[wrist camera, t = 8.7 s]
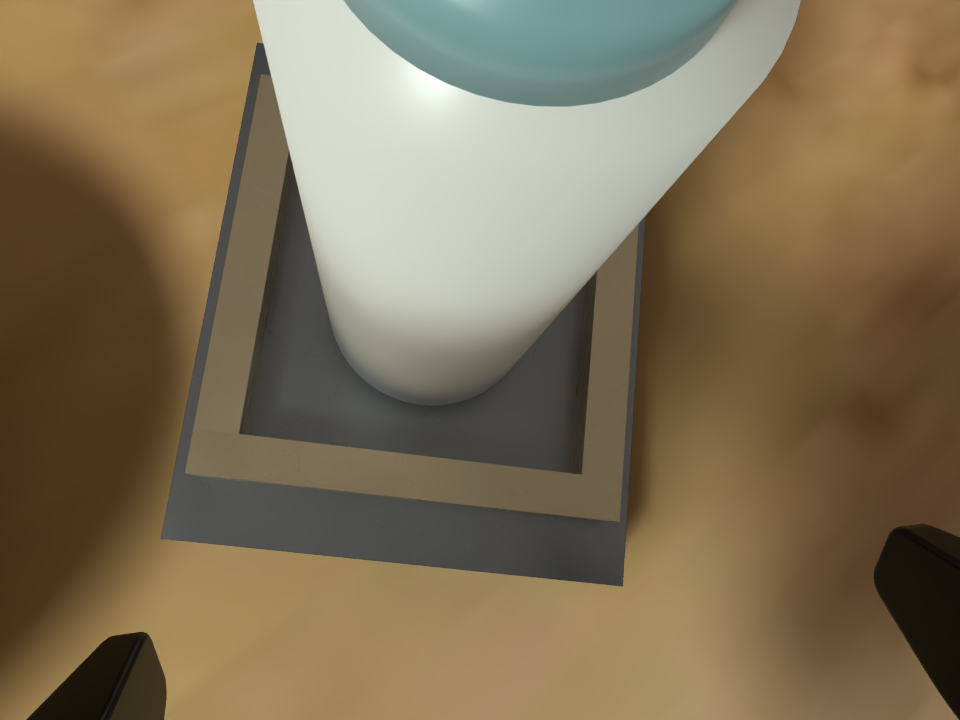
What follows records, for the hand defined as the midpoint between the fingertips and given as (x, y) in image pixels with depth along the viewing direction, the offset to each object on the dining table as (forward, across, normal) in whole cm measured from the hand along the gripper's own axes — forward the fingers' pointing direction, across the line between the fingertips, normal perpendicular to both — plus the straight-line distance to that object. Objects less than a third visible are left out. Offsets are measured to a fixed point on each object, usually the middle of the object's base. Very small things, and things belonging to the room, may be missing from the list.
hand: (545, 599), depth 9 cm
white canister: (+11, 0, -2) cm, 11 cm away
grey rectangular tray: (+13, 0, -4) cm, 14 cm away
